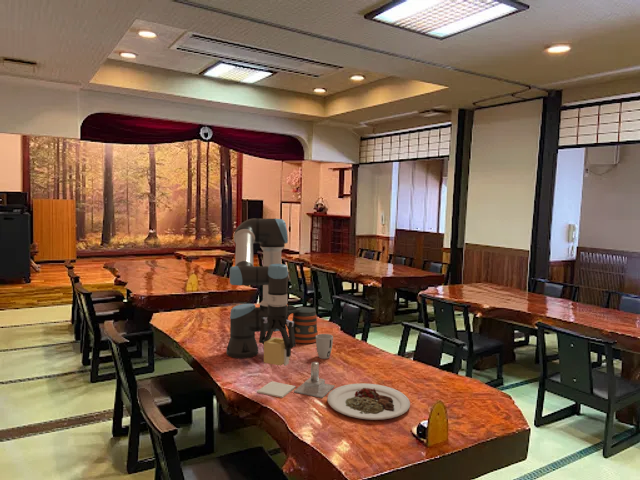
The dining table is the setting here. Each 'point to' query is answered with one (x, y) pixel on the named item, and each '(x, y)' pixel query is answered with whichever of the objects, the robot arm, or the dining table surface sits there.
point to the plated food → (368, 401)
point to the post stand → (314, 384)
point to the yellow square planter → (274, 351)
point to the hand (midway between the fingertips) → (276, 362)
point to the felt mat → (276, 389)
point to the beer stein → (304, 324)
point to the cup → (324, 345)
